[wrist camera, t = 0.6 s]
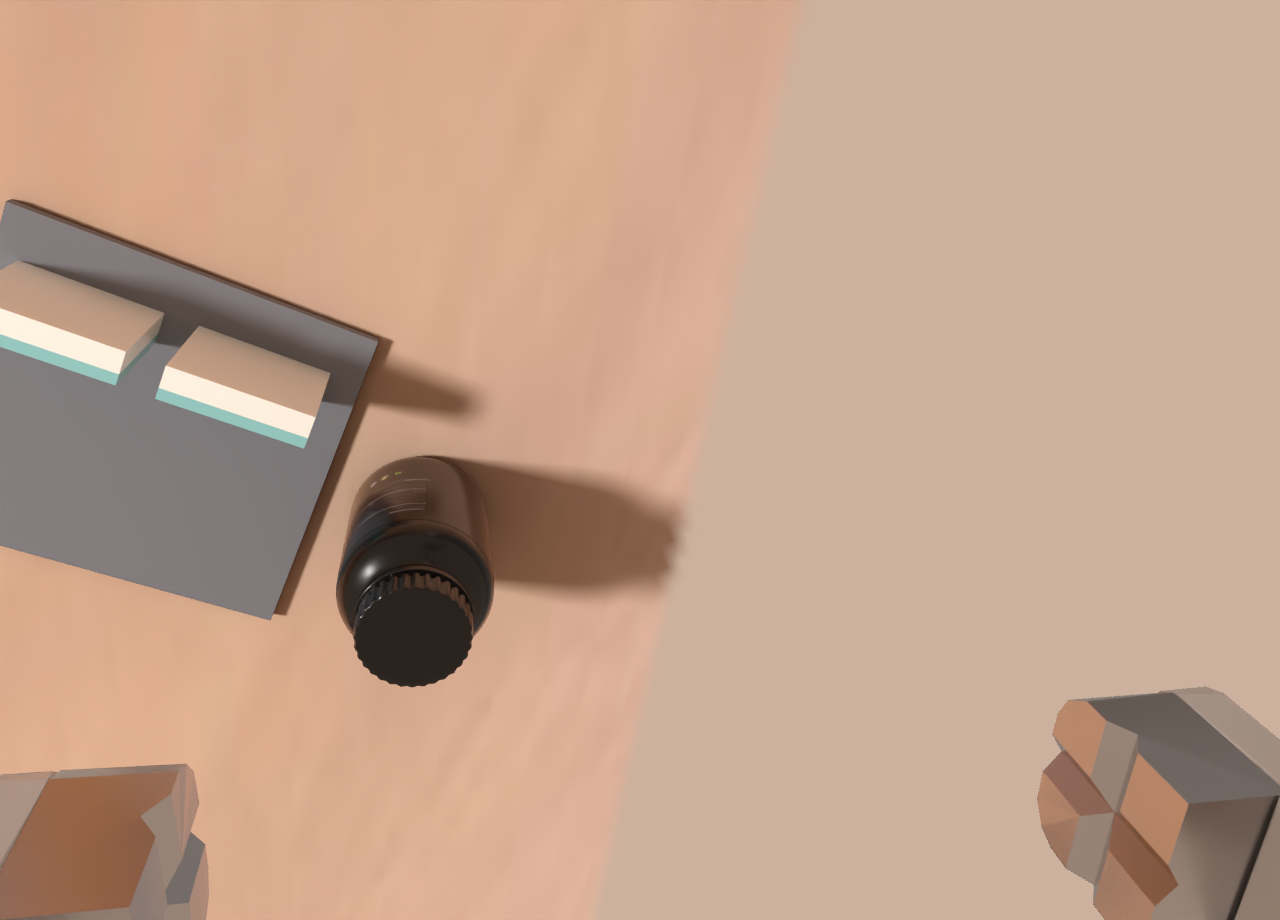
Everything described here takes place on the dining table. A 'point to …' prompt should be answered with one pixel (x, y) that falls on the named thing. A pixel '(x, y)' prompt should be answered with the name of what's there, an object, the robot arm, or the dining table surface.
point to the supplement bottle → (415, 571)
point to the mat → (163, 433)
